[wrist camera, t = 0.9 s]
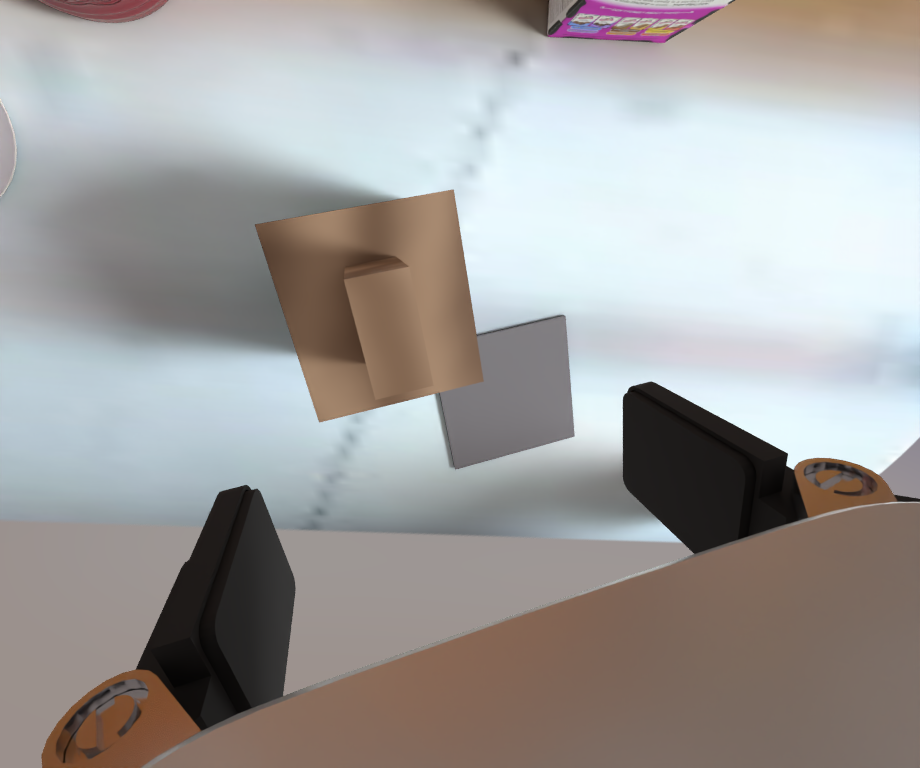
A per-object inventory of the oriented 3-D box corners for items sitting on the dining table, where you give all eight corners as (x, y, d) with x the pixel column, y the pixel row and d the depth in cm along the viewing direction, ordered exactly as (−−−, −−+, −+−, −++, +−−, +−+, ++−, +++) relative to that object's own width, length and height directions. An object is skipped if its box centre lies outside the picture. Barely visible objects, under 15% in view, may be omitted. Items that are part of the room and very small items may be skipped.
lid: (446, 191, 27) (482, 180, 20) (476, 372, 32) (514, 418, 24) (261, 224, 25) (226, 225, 18) (320, 410, 30) (312, 471, 22)
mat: (563, 315, 45) (565, 316, 44) (572, 434, 50) (574, 436, 50) (430, 346, 43) (430, 347, 42) (454, 467, 48) (455, 469, 48)
